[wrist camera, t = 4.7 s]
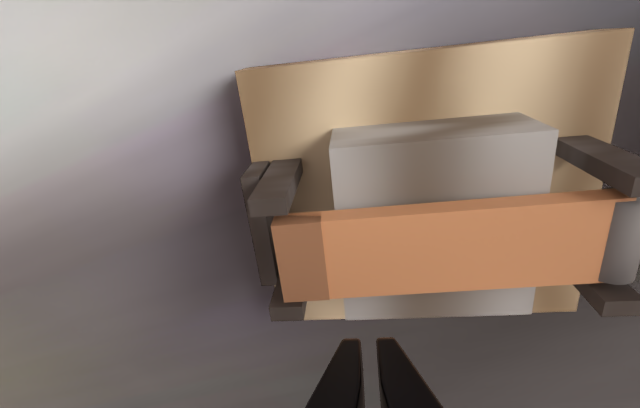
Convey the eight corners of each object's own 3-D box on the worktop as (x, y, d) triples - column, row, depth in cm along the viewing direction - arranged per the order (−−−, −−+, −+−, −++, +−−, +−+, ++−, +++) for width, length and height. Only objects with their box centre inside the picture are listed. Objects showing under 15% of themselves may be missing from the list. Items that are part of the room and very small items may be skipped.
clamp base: (598, 29, 15) (770, 22, 9) (554, 285, 19) (645, 395, 13) (248, 67, 16) (187, 84, 10) (287, 296, 21) (262, 398, 15)
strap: (634, 182, 12) (670, 199, 11) (615, 262, 13) (645, 286, 12) (276, 210, 13) (268, 229, 12) (288, 283, 14) (282, 307, 13)
